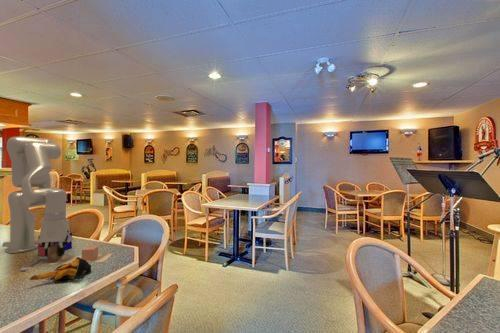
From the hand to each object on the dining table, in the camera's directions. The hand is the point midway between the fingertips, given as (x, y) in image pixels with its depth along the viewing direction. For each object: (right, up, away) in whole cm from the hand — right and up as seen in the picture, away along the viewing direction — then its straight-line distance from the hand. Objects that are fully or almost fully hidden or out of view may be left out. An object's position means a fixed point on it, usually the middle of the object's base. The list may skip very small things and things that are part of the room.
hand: (55, 255), depth 114 cm
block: (+14, -3, +3) cm, 15 cm away
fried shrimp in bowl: (+16, -4, -16) cm, 23 cm away
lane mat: (+7, -4, +1) cm, 8 cm away
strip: (+10, -3, +2) cm, 11 cm away
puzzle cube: (-10, -4, +13) cm, 17 cm away
